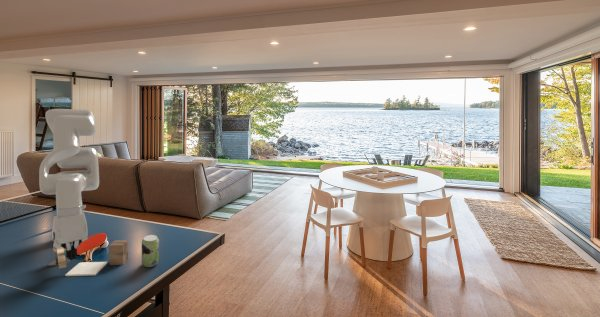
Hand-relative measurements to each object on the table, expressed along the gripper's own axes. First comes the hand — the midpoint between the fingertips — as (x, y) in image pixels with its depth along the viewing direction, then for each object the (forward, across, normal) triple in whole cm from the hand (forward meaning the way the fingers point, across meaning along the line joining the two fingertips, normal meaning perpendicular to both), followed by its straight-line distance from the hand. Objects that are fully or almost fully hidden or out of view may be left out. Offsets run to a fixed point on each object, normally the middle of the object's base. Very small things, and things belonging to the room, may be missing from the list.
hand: (71, 258), depth 121 cm
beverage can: (+5, -21, +18) cm, 28 cm away
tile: (+4, -4, +3) cm, 7 cm away
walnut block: (+5, -14, +6) cm, 16 cm away
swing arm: (+4, +2, -3) cm, 5 cm away
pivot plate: (+5, 0, -11) cm, 12 cm away
